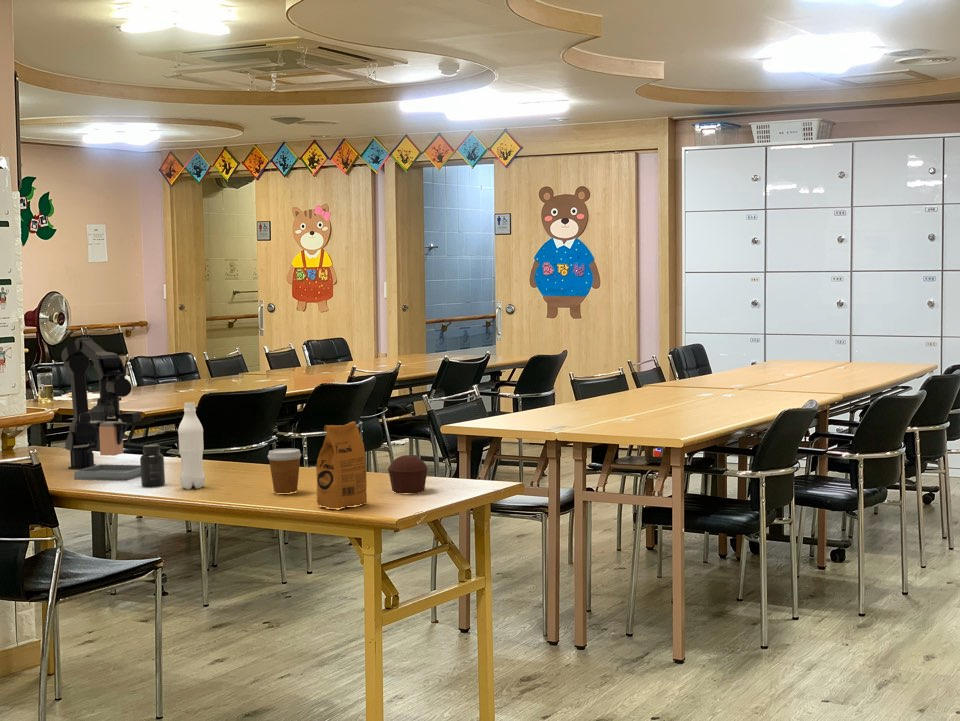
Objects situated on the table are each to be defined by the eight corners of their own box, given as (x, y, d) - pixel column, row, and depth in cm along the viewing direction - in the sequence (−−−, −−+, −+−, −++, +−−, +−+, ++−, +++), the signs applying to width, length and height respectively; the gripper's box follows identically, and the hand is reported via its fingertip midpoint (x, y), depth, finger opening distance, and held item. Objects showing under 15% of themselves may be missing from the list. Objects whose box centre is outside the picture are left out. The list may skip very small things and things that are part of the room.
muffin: (390, 488, 338) (389, 453, 337) (429, 487, 337) (428, 452, 337) (386, 495, 326) (385, 459, 325) (427, 495, 326) (426, 459, 325)
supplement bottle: (168, 483, 353) (167, 443, 352) (160, 487, 347) (158, 447, 346) (146, 483, 354) (144, 443, 353) (137, 487, 347) (135, 447, 346)
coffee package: (311, 507, 311) (308, 424, 309) (347, 500, 320) (345, 419, 318) (335, 512, 304) (333, 427, 303) (372, 504, 313) (369, 422, 312)
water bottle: (210, 486, 347) (207, 401, 345) (196, 490, 340) (193, 404, 339) (189, 485, 349) (185, 401, 348) (175, 489, 343) (171, 403, 341)
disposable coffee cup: (262, 492, 334) (261, 450, 333) (292, 488, 340) (291, 447, 339) (278, 497, 327) (277, 454, 326) (309, 493, 332) (307, 450, 332)
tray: (74, 479, 365) (74, 471, 365) (99, 471, 378) (99, 464, 378) (126, 480, 360) (126, 472, 360) (150, 472, 374) (150, 465, 374)
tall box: (100, 455, 367) (98, 423, 366) (109, 452, 372) (107, 421, 371) (114, 455, 366) (113, 423, 365) (123, 453, 371) (122, 421, 370)
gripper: (67, 397, 362) (70, 447, 363) (122, 397, 357) (124, 449, 359) (88, 393, 373) (90, 442, 374) (141, 394, 368) (143, 443, 369)
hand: (111, 444), depth 369 cm, fingers closed on tall box, 5 cm apart
